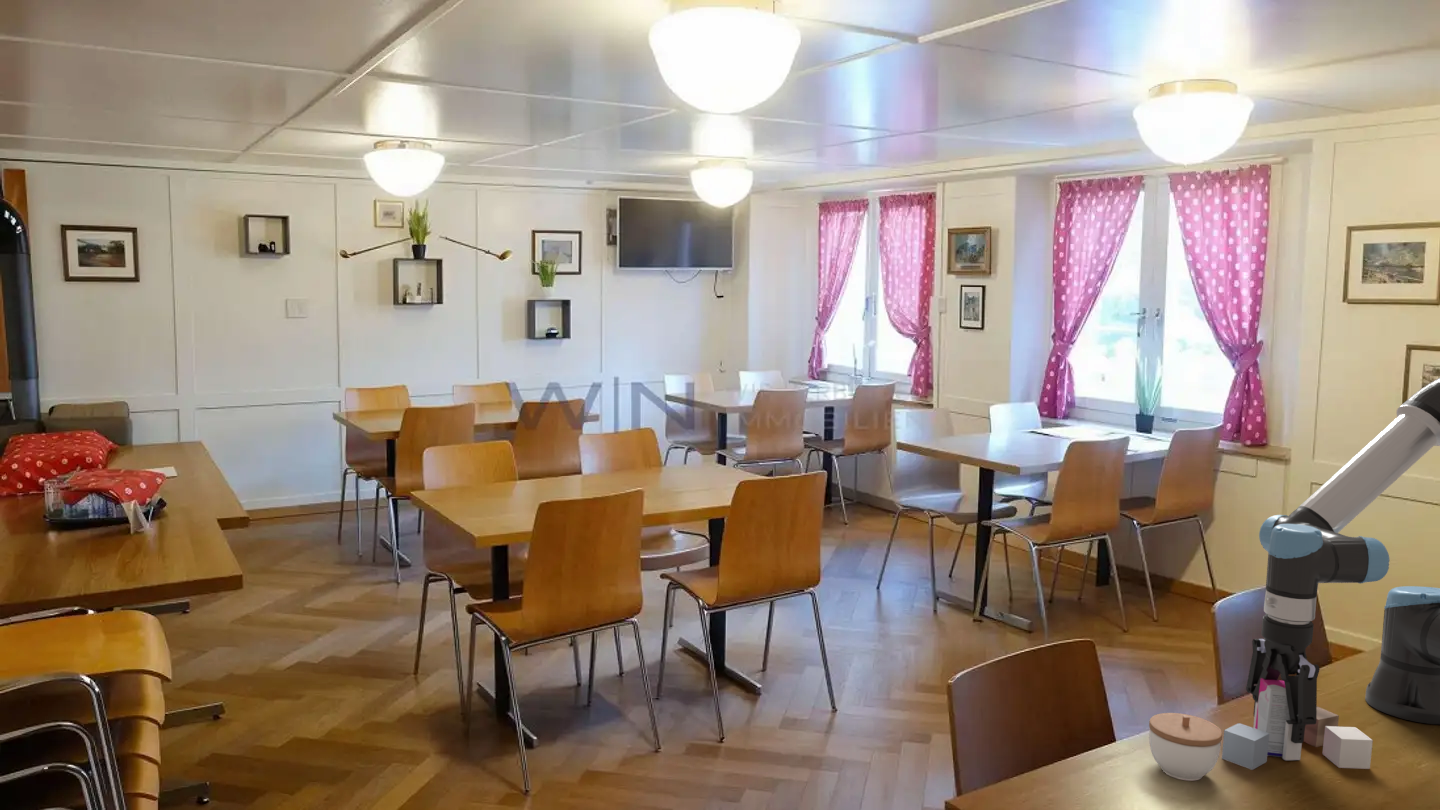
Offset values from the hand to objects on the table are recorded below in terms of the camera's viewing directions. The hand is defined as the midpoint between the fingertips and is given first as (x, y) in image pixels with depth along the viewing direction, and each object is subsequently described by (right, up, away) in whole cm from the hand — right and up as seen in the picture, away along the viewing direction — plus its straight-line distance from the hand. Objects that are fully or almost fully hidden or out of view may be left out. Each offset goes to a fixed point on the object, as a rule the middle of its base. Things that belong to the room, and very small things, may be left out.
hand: (1275, 748), depth 179 cm
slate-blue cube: (-7, -1, -4) cm, 8 cm away
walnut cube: (+9, 0, +5) cm, 10 cm away
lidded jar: (-20, -1, -9) cm, 22 cm away
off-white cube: (+10, -1, -4) cm, 10 cm away
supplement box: (0, -1, 0) cm, 0 cm away
